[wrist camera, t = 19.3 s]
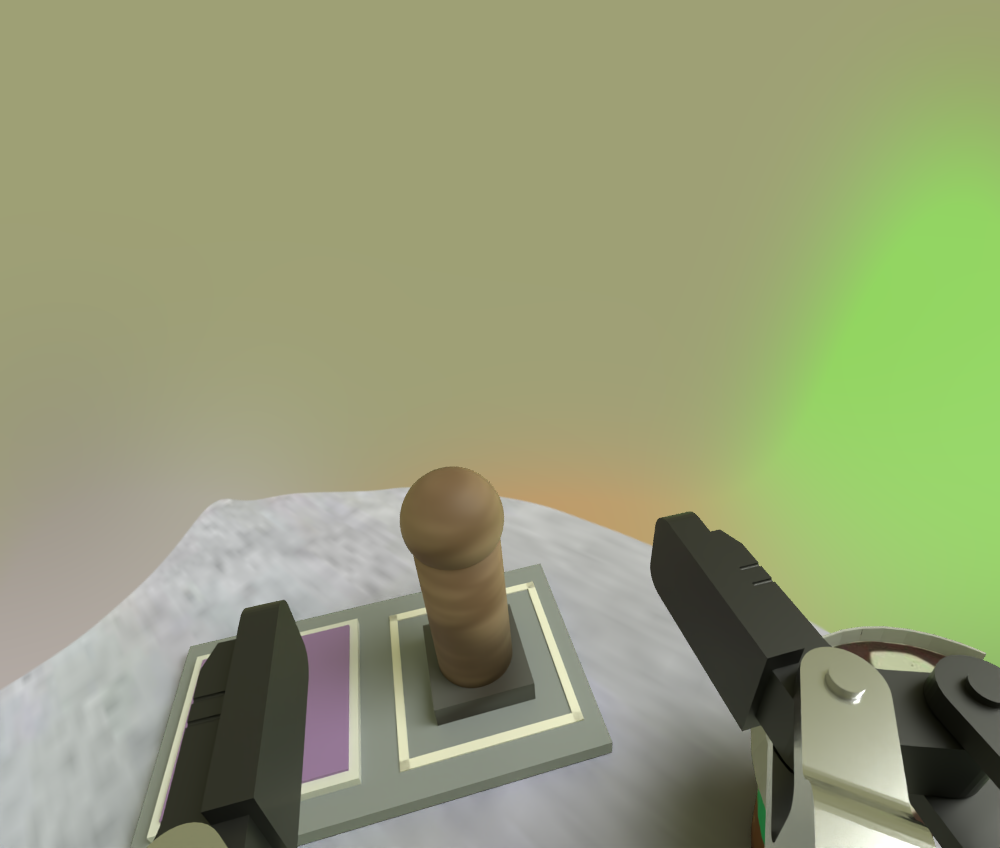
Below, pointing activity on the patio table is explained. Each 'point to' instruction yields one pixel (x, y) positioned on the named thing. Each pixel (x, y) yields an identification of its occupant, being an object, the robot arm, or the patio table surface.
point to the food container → (881, 652)
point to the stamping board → (409, 716)
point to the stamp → (464, 595)
